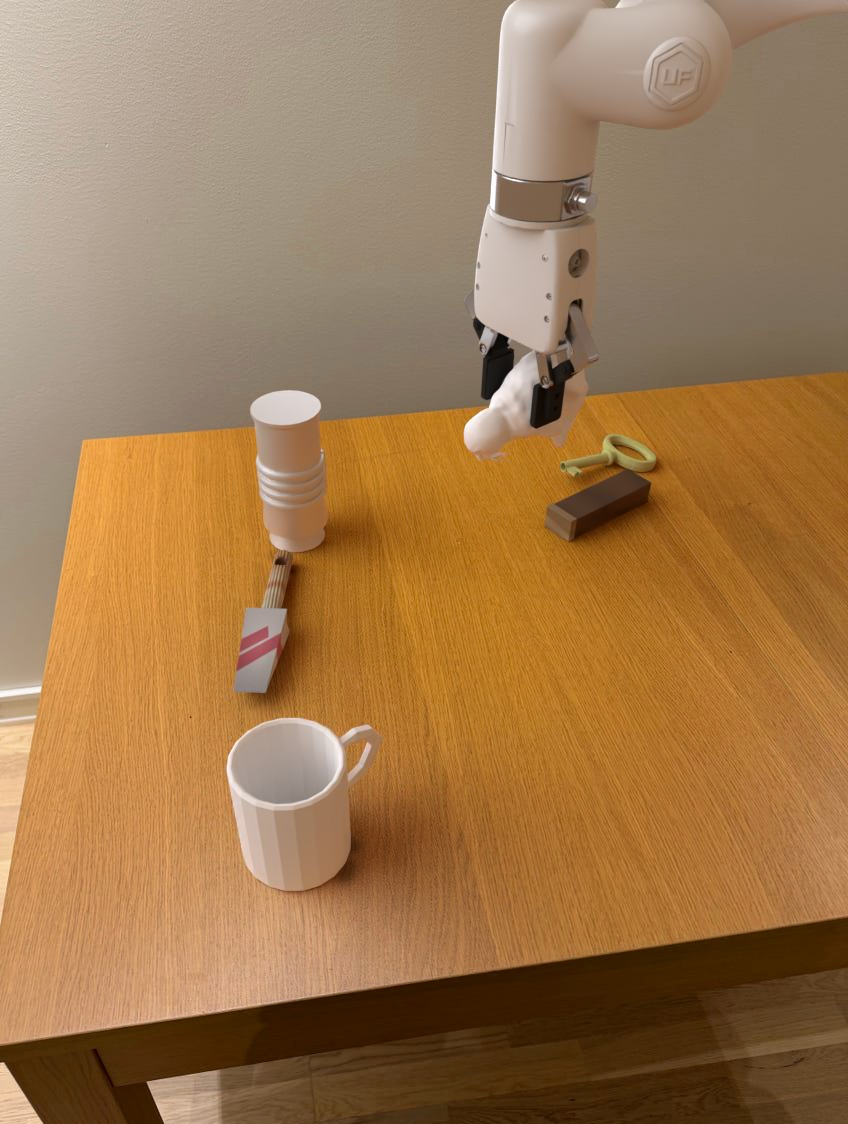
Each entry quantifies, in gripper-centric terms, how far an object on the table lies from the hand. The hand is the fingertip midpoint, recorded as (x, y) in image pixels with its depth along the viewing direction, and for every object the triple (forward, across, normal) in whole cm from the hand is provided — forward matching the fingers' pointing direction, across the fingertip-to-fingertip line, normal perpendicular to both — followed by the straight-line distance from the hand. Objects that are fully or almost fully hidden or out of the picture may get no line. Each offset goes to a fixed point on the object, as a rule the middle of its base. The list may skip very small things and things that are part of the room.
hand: (520, 406), depth 82 cm
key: (+18, +6, -21) cm, 28 cm away
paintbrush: (+17, +6, +25) cm, 31 cm away
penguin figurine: (+4, 0, 0) cm, 4 cm away
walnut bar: (+17, 0, -13) cm, 22 cm away
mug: (+17, -16, +34) cm, 41 cm away
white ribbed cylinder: (+17, +16, +15) cm, 28 cm away
